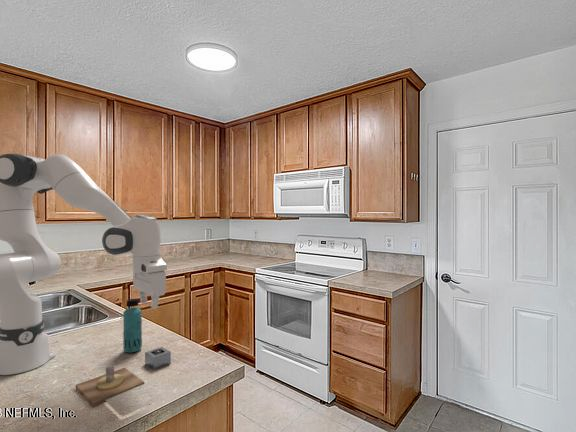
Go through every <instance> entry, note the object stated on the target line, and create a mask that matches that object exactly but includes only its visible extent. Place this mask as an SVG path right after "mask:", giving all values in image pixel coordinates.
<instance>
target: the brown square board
mask: <svg viewBox="0 0 576 432" xmlns="http://www.w3.org/2000/svg"><path fill="white" fill-rule="evenodd" d="M144 384H145V381H144V380H143V379H141V378H139V377H138V376H136V374H134V373H133V372H131V371H130V370H129V369H127V368H126V367H122V368H119V369H116V370H115V366H114V365H109V366H107V367H106V368H105V374H103V375H99V376H97V377H93V378H91V379H89V380H86V381H82V382H80V383H77V384H75V390H76V391H77V392H78V393H79V394H80V395H81V396H82V397H83V398H84V399H85V400H86V402H87V403H88V404H89V405H90V406H91V407H92V408H95V407H98V406H100V405H102V404H105V403H107V402H108V399H110V398H112V397H115V396H118V395H121V394H123V393H125V392H128V391H130V390H132V389H134V388H137V387H139V386H142V385H144Z"/></svg>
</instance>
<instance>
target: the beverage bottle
mask: <svg viewBox="0 0 576 432" xmlns="http://www.w3.org/2000/svg"><path fill="white" fill-rule="evenodd" d="M125 306H126V307H127V308H126V309H125V310H124V311H123V312H122V314H123V315H122V316H123V319H122V320H123V332H122V333H123V335H122V340H123V341H122V348H123V349H122V350H123V352H125V353H134V352H138V351H139V350H141V349H142V346H143V335H142V334H143V330H142V329H143V326H142V325H143V320H142V309H141V308H140V307H137V306H139V299H138V298H130V299H127V300H126V305H125Z"/></svg>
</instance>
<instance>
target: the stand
mask: <svg viewBox="0 0 576 432" xmlns="http://www.w3.org/2000/svg"><path fill="white" fill-rule="evenodd" d="M160 353H161V350H157V351H155V355H158V354H160ZM169 365H170V364H167V365H165V366H162V367H159V368H157V369H156V370H159V369H160V370H161V369H164V368H166V367H167V366H169ZM144 367H145V368H146V369H148V370H153V369H152V368H151V367H149V366H147V365H146V364H145V366H144Z"/></svg>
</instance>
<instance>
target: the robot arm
mask: <svg viewBox="0 0 576 432" xmlns="http://www.w3.org/2000/svg"><path fill="white" fill-rule="evenodd" d="M52 190H53V191H54V192H55V193H56V195H58V197H59V198H60V199H61V200H62V201H64V202H65V203H66V204H68V205H69V206H71V207H73V208H75V209H80V210H84V211H89V212H92V213H95V214H98V215H99V216H101V217H103V218H105V220H107V222H109V224H111V225H112V227H110V228H108V229H106V230H105V231H104V233H103V235H102V238H101V242H102V247H103V249H104V250H105V251H106V253H108V254H109V255H115V256H122V255H127V254H128V255H129V254H131V255H132V272H133V273H132V285H133V288H134V289H136V290H137V291H138V295H139V299H140V300H139V301H140V303H142V304H147V303H148V297H147V295H150V298H151V301H150V308H152V309H153V310H154V309H157V308H158V307H159V300H160V297H161V296H164V295H165V293H166V289H167V274H166V271H167V270H168V266H167V263H166V262H165V261H164V260H163V258H162V251H161V243H162V237H161V227H160V223H159V220H158V218H156V217H154V216H152V215H143V214H138V215H133V216H132V217H131V216H130V215H129V214H128V213H127V212H126V211H125V210H124V209H123V208H122V207H121V205H119V204H118V203H117V202H116V201H115V200H114V199H112V197H110V196H109V195H108V194H107V193H106V192H105V191H104V190H103V189H101V187H100V186H98V184H97V183H96V182H95V181H94V180H93V179H92V178H91V177H90V176H89V174H88V173H87V172H86V171H85V170H84V169H83V168H82V167H81V166H80V165H79V164H77V163H76V162H75V161H74V160H72V159H71V158H70V157H69V156H67V155H65V154H52V155H50V156H48V157H46V158H45V159H44V158H41V157H38V156H30V155H23V154H19V153H4V154H0V241H3V242H5V243H7V244H8V245H10V247H11V248H12V250H13V252H8V253H0V376H9V375H10V376H11V375H15V374H22V373H24V372H28V371H33V370H34V369H37V368H39V367H41V366H43V365H45V364H46V363H48V361H49V360H51V359H53V358H55V357H56V352H54V351H51V346H50V345H51V344H50V336H49V334H47V333H46V332H44V330H45V323H44V319H43V304H42V303H43V302H42V301H43V300H42V299H41V298H40V296H39V295H36V294H33V293H30V292H29V290H28V288H27V283H33V282H37V281H41V280H45V279H48V278H50V277H52V276H55V275H56V274H57V273H58V272H59V271H60V269H61V266H62V261H61V257H60V255H59V254H58V253H57V252H56V251H54V250H52V249H51V248H49V247H48V246H47V244H46V243H45V242H44V241H43V240H42V237H41V236H40V234H39V231H38V226H37V221H36V216H35V210H34V209H35V208H34V201H33V200H34V199H33V198H34V195H35V194H36V193H38V194H39V195H40V194H41V195H42V194H45V193H47V192H49V191H52Z"/></svg>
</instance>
